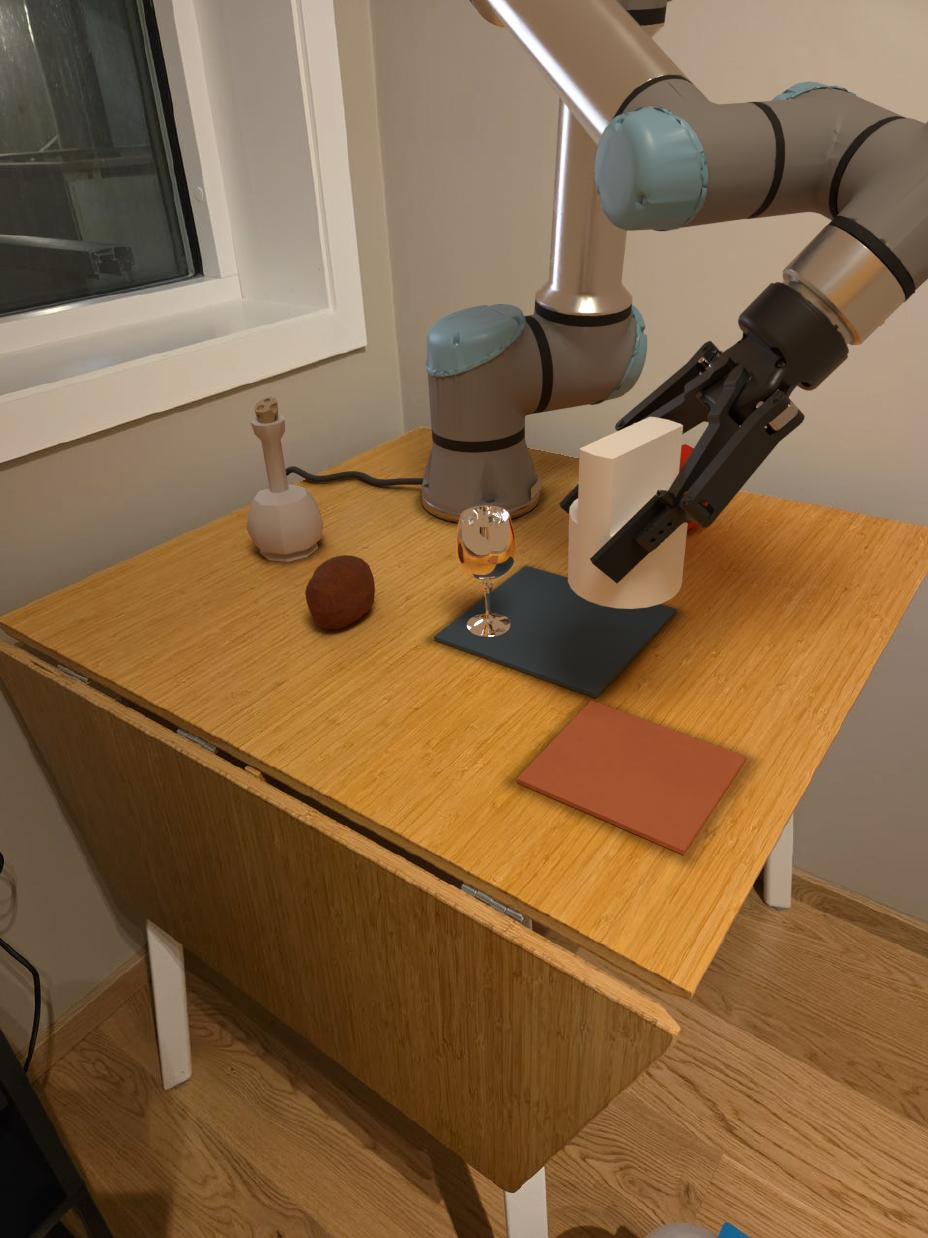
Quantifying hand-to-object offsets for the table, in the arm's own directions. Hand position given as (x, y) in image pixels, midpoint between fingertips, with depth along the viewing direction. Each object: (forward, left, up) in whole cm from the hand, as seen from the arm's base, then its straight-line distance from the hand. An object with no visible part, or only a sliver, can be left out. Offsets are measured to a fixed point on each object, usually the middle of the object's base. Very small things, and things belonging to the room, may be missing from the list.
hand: (586, 541), depth 70 cm
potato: (-29, +1, -17) cm, 33 cm away
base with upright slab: (+2, +2, -4) cm, 5 cm away
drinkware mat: (-9, +11, -16) cm, 21 cm away
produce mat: (+7, -5, -16) cm, 19 cm away
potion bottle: (-45, +9, -17) cm, 49 cm away
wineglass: (-14, +7, -16) cm, 22 cm away
